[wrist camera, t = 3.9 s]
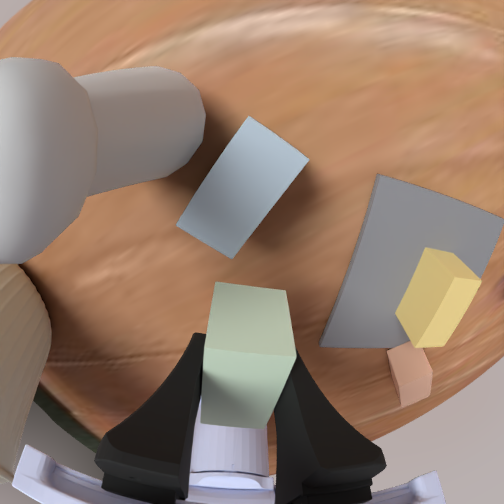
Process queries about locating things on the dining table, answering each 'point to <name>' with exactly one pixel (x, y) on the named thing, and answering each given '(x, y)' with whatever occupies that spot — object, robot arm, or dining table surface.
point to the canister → (19, 358)
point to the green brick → (245, 355)
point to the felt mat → (402, 258)
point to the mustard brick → (436, 298)
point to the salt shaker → (84, 142)
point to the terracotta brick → (410, 373)
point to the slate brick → (241, 188)
